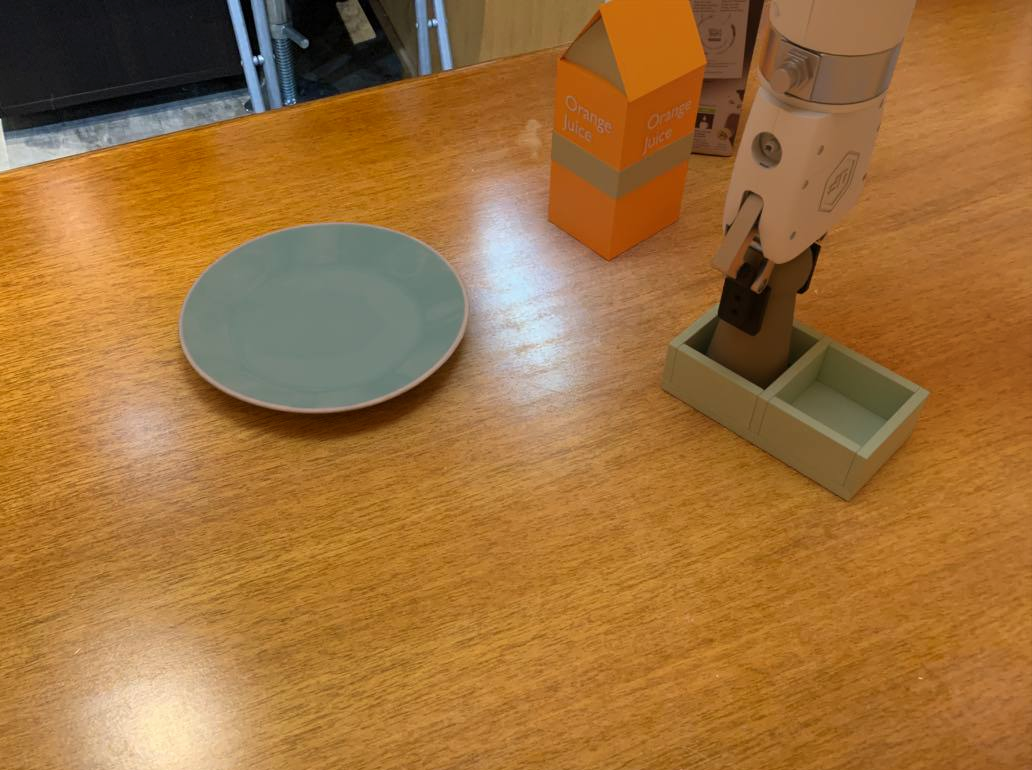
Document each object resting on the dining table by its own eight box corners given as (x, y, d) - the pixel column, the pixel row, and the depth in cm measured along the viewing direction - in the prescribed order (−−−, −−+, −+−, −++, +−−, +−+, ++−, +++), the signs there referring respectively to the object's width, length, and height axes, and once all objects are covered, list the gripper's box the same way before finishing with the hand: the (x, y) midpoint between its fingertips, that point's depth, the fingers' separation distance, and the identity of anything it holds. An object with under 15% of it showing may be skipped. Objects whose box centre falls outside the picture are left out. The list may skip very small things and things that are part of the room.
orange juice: (546, 219, 94) (559, -14, 79) (616, 180, 98) (643, -50, 82) (609, 262, 91) (638, 27, 75) (680, 220, 95) (722, -12, 79)
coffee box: (733, 158, 100) (770, -20, 88) (664, 151, 101) (690, -27, 88) (735, 104, 106) (771, -70, 93) (669, 98, 106) (695, -76, 94)
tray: (910, 436, 79) (931, 392, 76) (848, 502, 75) (866, 459, 72) (726, 332, 86) (736, 286, 82) (659, 387, 82) (668, 343, 78)
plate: (149, 293, 88) (140, 265, 86) (399, 218, 94) (397, 190, 92) (240, 478, 76) (233, 451, 74) (519, 378, 82) (520, 350, 80)
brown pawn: (761, 327, 83) (794, 205, 74) (802, 379, 79) (842, 257, 71) (690, 347, 81) (715, 224, 73) (729, 400, 78) (760, 278, 69)
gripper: (802, 142, 56) (736, 393, 70) (961, 22, 64) (873, 271, 78) (685, 88, 59) (645, 340, 74) (850, -20, 67) (785, 227, 81)
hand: (763, 302), depth 76 cm, fingers closed on brown pawn, 5 cm apart
